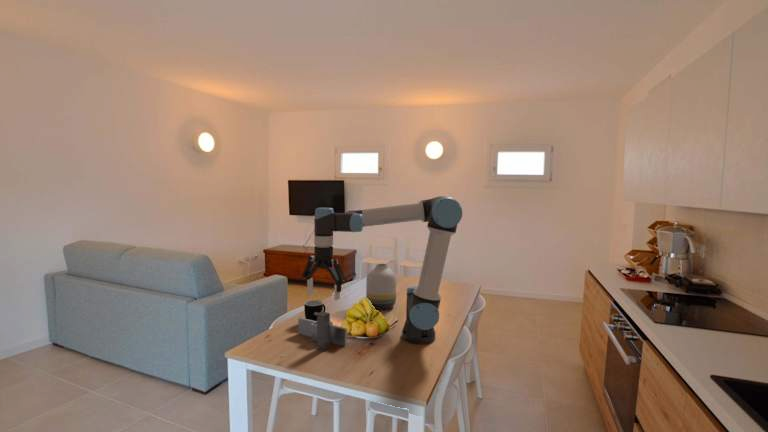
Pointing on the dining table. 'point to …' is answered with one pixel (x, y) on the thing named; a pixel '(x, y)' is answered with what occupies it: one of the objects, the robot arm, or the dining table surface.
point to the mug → (313, 309)
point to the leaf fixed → (335, 335)
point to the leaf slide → (307, 326)
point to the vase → (381, 287)
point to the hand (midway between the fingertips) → (323, 297)
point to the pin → (323, 331)
